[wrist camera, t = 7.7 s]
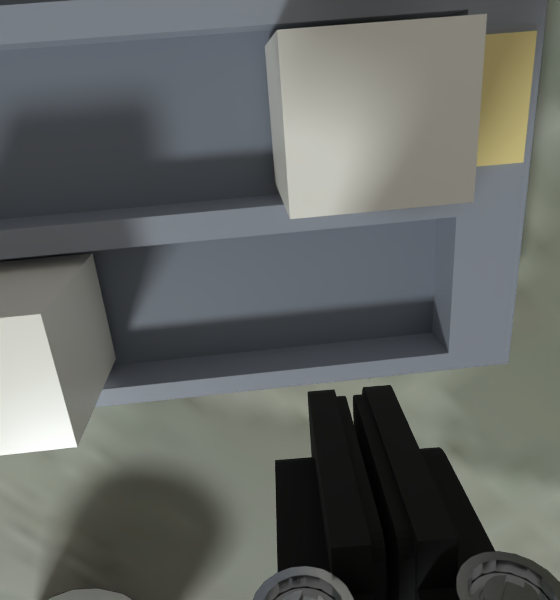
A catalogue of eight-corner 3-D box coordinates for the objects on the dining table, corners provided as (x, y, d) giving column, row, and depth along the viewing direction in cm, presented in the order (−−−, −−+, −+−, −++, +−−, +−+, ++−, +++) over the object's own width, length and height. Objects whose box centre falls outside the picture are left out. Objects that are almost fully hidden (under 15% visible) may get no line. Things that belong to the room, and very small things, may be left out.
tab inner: (92, 253, 16) (40, 314, 11) (115, 358, 17) (77, 446, 13) (-44, 265, 15) (-148, 332, 11) (-9, 371, 17) (-90, 465, 13)
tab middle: (412, 34, 14) (486, 13, 10) (409, 170, 15) (474, 201, 11) (264, 46, 14) (277, 29, 10) (275, 182, 15) (290, 219, 11)
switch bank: (511, -237, 13) (588, -327, 10) (469, 323, 20) (511, 366, 17) (-300, -192, 13) (-464, -277, 10) (-75, 379, 19) (-134, 435, 16)
